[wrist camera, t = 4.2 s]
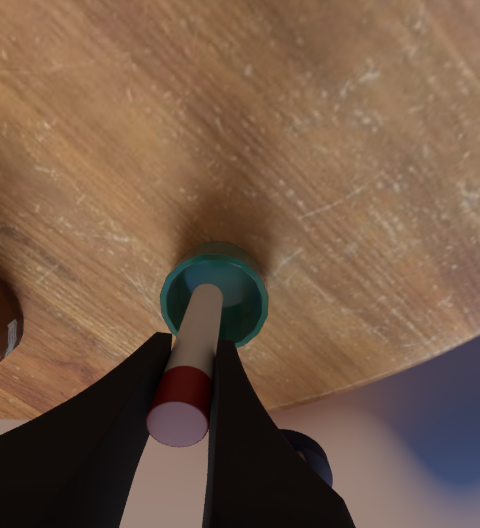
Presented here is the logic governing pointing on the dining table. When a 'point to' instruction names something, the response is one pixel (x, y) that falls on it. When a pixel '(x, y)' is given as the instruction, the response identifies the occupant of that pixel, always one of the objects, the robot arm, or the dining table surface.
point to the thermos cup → (227, 280)
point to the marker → (188, 374)
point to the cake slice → (9, 320)
